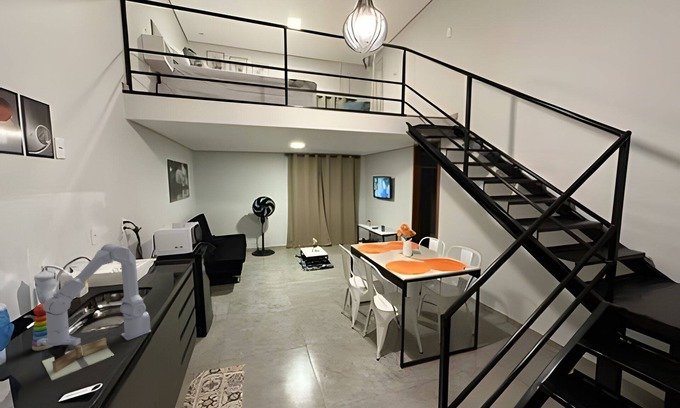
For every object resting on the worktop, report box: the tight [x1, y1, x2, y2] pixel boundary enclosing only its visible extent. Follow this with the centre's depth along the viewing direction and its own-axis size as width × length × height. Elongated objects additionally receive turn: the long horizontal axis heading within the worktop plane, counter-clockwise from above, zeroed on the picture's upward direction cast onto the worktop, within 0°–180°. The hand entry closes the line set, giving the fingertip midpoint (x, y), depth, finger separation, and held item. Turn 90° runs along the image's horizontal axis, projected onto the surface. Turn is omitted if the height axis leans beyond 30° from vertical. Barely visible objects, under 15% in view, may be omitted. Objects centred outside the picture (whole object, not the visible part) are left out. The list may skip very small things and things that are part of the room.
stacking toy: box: [31, 303, 50, 352], centre depth 120 cm, size 8×8×19 cm
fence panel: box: [52, 349, 77, 372], centre depth 107 cm, size 8×1×4 cm, turn 175°
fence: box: [74, 337, 108, 359], centre depth 115 cm, size 10×2×5 cm, turn 144°
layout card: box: [41, 345, 115, 381], centre depth 112 cm, size 18×18×1 cm
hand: (60, 362), depth 107 cm, fingers closed, pressing on fence panel
